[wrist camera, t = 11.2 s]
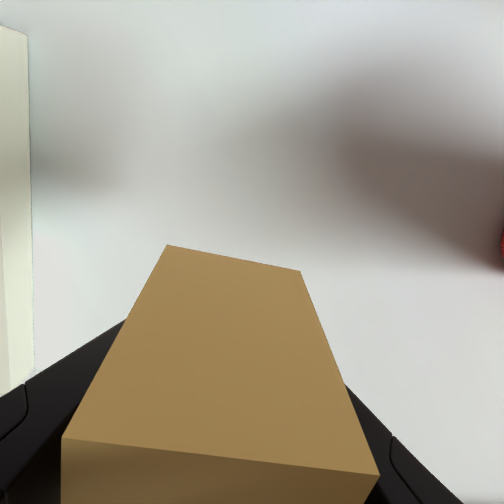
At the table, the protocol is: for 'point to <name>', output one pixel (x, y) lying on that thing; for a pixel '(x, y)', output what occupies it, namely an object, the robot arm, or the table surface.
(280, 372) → the ochre block
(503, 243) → the smoothie
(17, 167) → the tray
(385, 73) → the table surface
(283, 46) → the table surface
